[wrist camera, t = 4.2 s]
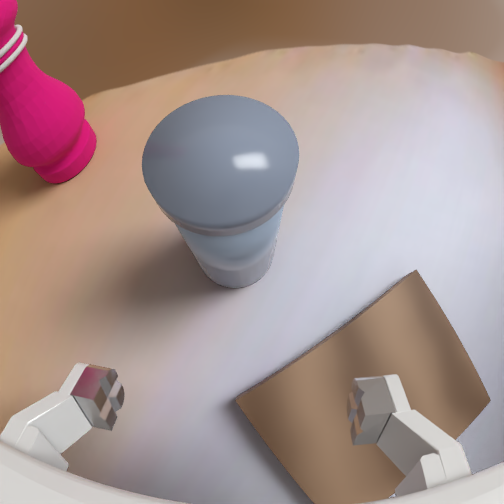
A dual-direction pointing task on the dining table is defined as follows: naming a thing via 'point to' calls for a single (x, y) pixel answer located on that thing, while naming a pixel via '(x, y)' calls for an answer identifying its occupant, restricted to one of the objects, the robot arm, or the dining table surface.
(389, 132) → the dining table surface
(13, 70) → the pepper mill
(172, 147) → the spice jar
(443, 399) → the walnut board
